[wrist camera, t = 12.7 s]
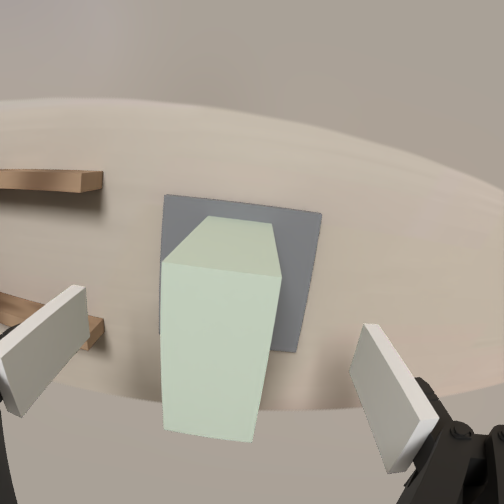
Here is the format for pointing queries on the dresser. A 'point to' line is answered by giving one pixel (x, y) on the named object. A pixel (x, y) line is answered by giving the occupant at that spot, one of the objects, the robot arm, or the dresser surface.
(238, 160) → the dresser surface
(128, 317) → the dresser surface
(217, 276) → the block
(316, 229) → the rubber pad
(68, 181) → the rack
